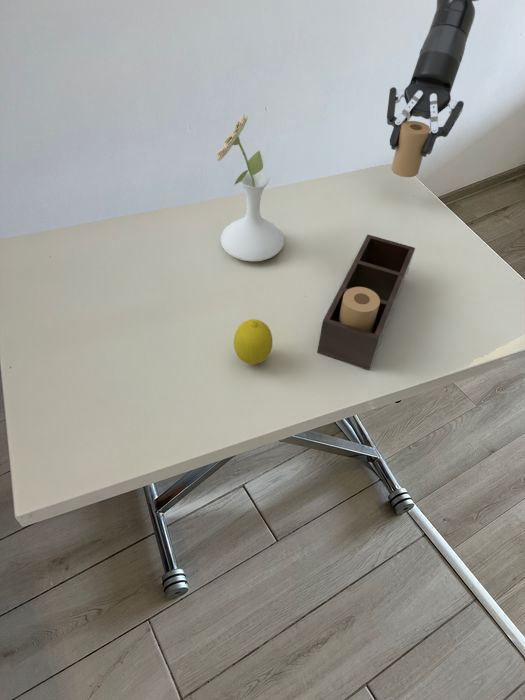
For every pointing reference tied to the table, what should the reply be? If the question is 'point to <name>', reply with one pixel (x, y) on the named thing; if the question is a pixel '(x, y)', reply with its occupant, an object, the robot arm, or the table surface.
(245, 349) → the lemon
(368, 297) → the roll
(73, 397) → the table surface
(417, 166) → the towel roll
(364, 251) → the rack
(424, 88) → the robot arm
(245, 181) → the flower in vase
